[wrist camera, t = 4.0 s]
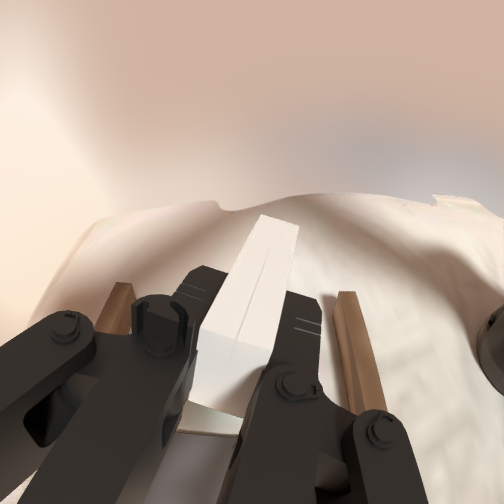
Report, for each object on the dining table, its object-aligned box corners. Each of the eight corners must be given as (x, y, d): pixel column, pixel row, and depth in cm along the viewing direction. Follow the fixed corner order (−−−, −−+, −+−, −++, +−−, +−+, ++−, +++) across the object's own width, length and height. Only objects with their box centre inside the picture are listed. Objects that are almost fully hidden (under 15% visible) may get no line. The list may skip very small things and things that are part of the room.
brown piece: (347, 315, 38) (355, 291, 35) (384, 510, 18) (403, 501, 16) (123, 306, 38) (116, 282, 36) (61, 484, 18) (39, 471, 16)
